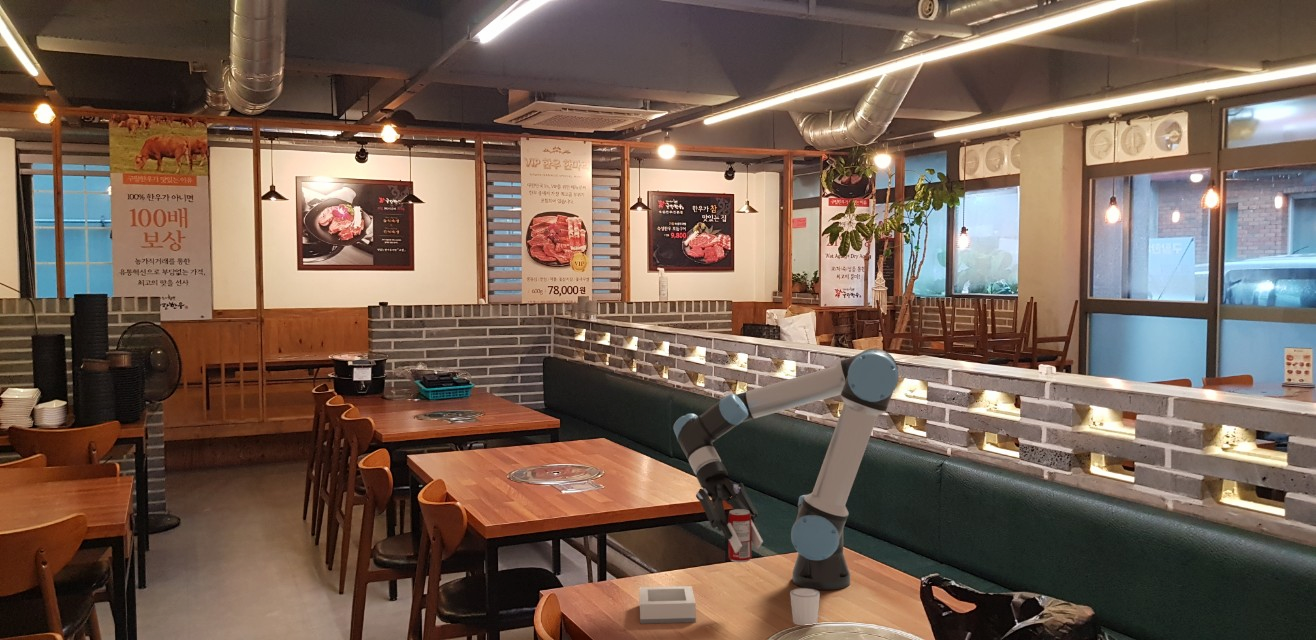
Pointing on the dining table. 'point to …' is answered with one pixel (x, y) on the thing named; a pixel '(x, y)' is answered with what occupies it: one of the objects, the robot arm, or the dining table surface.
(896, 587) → the dining table surface
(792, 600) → the shot glass
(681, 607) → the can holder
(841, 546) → the robot arm
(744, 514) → the soda can
